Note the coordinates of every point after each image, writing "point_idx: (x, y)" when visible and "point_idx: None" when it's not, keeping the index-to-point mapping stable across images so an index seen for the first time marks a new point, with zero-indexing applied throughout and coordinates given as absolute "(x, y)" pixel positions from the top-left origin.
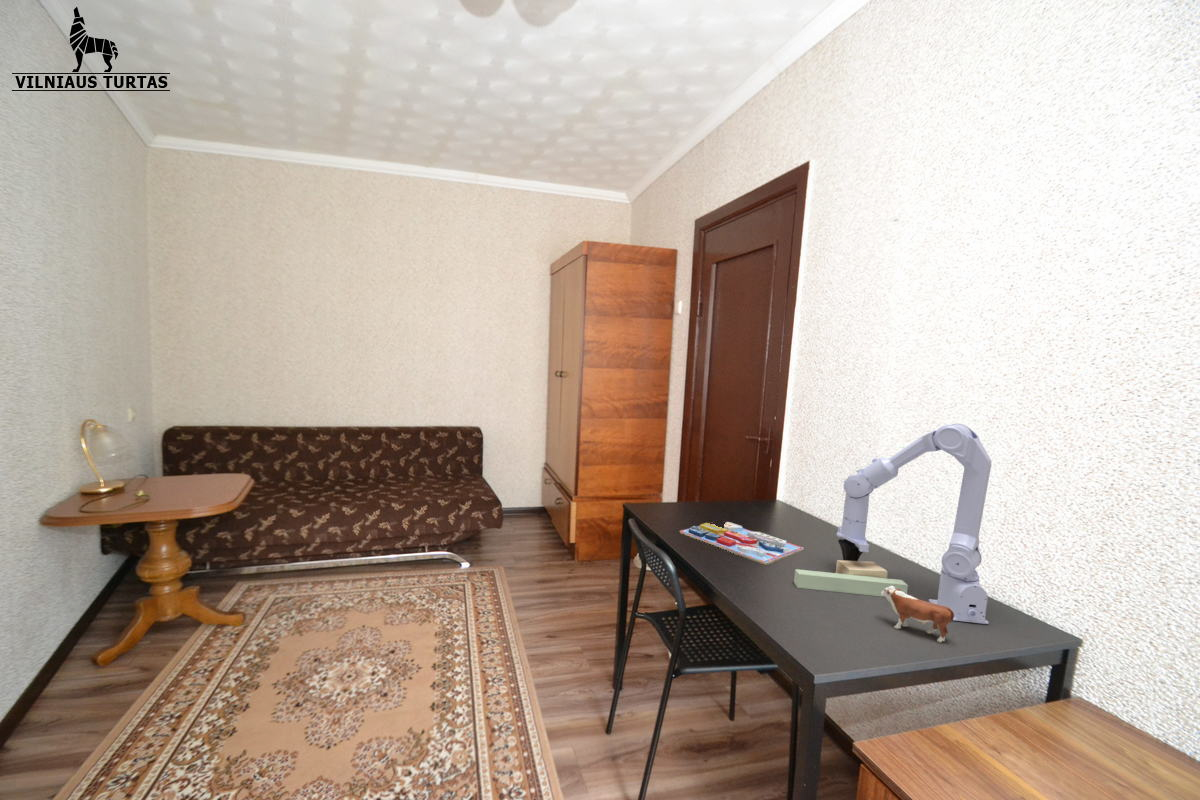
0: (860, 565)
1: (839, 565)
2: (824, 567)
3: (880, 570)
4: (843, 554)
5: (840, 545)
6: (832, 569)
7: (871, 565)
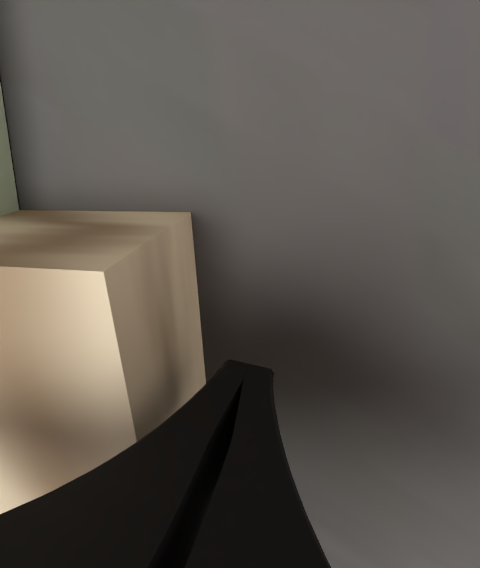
0: (30, 438)
1: (67, 253)
2: (429, 241)
3: None
4: (241, 449)
5: (296, 565)
6: (377, 295)
7: None
